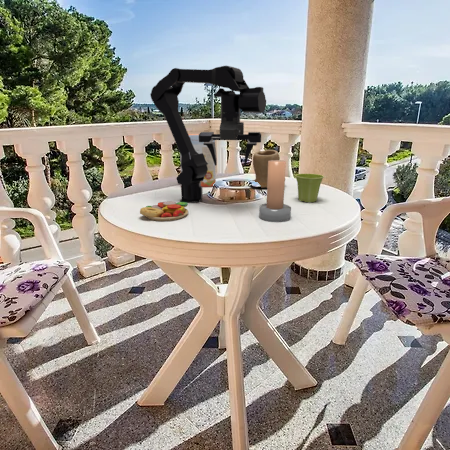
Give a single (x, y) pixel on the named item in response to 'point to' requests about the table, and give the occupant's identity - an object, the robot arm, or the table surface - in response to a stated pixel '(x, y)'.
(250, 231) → the table surface
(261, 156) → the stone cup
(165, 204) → the toy food set
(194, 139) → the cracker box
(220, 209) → the table surface
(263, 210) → the coaster
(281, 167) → the candle
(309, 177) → the plant pot
